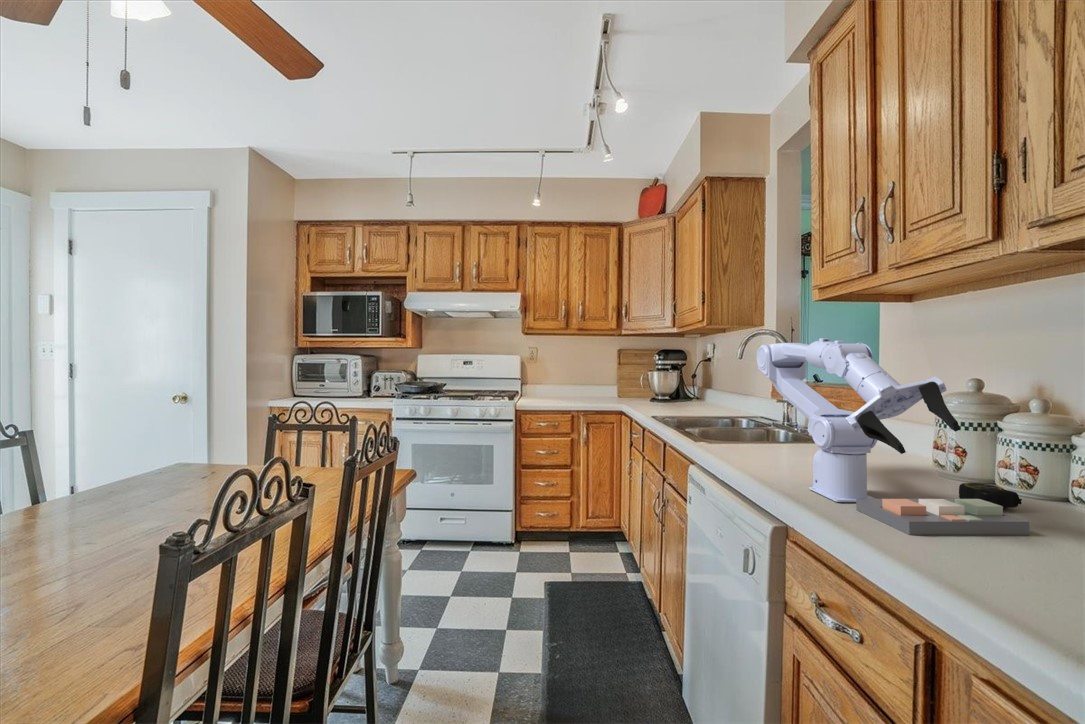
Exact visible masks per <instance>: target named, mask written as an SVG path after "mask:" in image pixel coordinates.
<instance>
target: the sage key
mask: <svg viewBox="0 0 1085 724" xmlns="http://www.w3.org/2000/svg"><path fill="white" fill-rule="evenodd" d="M954 499H955V503H956V504H959V505H962V506H964V509H965V512H968V513H971V514H973V515H976V516H1003V513H1004V508H1003V506H1000V505H997V504H994V503H991V502H987V501H984V500H981V499H959V498H954Z"/></svg>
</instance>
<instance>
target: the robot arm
mask: <svg viewBox="0 0 1085 724" xmlns="http://www.w3.org/2000/svg"><path fill="white" fill-rule="evenodd" d="M830 340H831V339H830V338H825V337H823V338H821V337H820V338H819V340H815V341H813V342H811V343H810V344H807V343H802V342H780V343H779V342H778V343H769V344H761V345H759V348H758V349H757V351H756V362H757V368H758V371H759V372H760V373H762V374H763V375H764V376H765V377H766V379H767V378H768V379H769V381H770V382H771V383H772V385H773V387H774V389H775V390H776V392H777V393H778V394H779V395H780V396H781V397H783V399H785V400H786V401H787V402H788V403H789V404H790V405H792V406H793V408H795V409H796V410H798V412H800V413H801V414H802V416H804V418H806V419H807V420H808V423H807V432H808V433H809V434H810V436H811V438H812V440H813V441H814V443H815V445H816V446H817V447H818V450H817V451H816V452H815V454H814V456H813V458H812V480H813V481H812V486H808V490H811V491H813V492H815V493H816V494H819V495H821V496H823V497H825V498H827V499H829V500H831V501H834V502H836V503H856V499H877V498H875V497H874V496H871V495H868V475H867V474H868V467H867V466H868V465H867V464H868V460H867V458H868V457H867V455H868V454H871V453H872V452H871V450H872V449H873V448H874V447H875V446H876V445H877V443H878V441H879V442H881V443H884V444H886V445H887V446H888V447H891V448H893V450H895V451H897V452H898V453H899V454H900V455H903V454H905V453H907V452H906V450H905V449H906V448H905V447H904V445H903V443H901V441H900V440H899V439H898V438H897V437H896V435H894V434H893V433H892V432H891V431H890V430H889V429H888V428H887V427H886V426H885V425H884V424H883V422H882V421H881V420H885V419H890V418H894V417H899V416H900V415H901V414H903V413H905V412H906V411H908V410H909V409H910V408H912V407H913V406H914V405H915V404H918V403H919V402H920V401H922V400H923V402H924V403H925V405H926V407H927V410H928V411H929V412H931V413H932V414H934V415H935V416H937V418H939V419H940V420H942V421H943V423H945V424H946V425H947V426H948V427H949V428H950V429H951V430H952V431H954V432H957V431H960V430H961V428H960V424H959V422H958V420H956V418H955V417H954V416H953V414H952V413H951V412H950V410H949V408H948V407H947V405H946V403H945V400H944V397H943V395H942V394H943V393H945V392H947V391H948V390H947V387H946V384H945V382H943V381H942V380H941V379H940V378H939V377H938V376H933V377H930V378H928V379H924V380H921V381H915V382H911V383H905V384H900V383H899V382H898V381H897V380H896V379H894V377H893V376H891V375H890V374H889V373H888V372H887V371H886V370H885V369H884V368H882V366H880V364H878V363H877V362H876V361H875V360H874V358H873V352H872V350H871V348H870V347H869V346H868V344H865V343H863V342H857V343H845V341H844V340H841V339H840V340H834V341H830ZM807 363H808V364H809V366H812V367H813V368H818V369H823V370H826V371H825V372H827V374H830V375H836V376H837V377H838V378H842V379H843V380H844V381H845V382H846V383H847V384H848V385H849V386H850V387H851V388H852V389H853V391H855V392H856V393H857V394H858V396H860V398H862V400H863V401H864V402H865V404H864V405H862V406H860V408H858V409H857V410H856V411H849V410H846V409H840V408H838V407H836V406H835V405H834V404H833V403H831V402H830V401H829V400H827V399H826V398H825V397H823V395H821V394H819V393H818V392H817V391H816V390H815V389H813V388H811V387H810V386H809V385H808V384H807V383H805V382H804V380H805V379H806V377H807Z"/></svg>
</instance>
